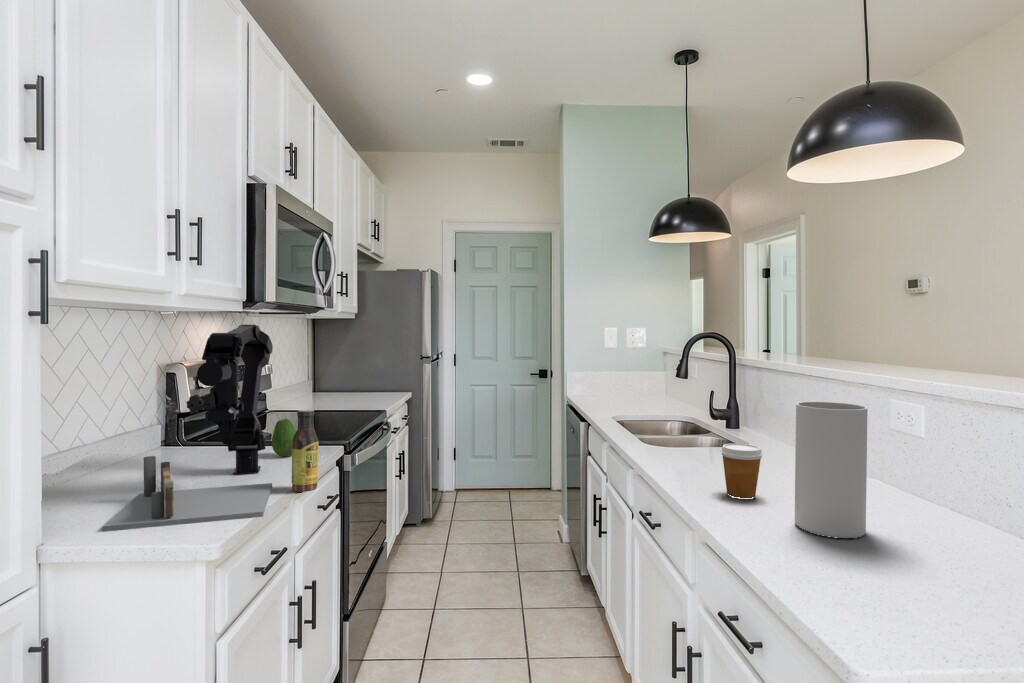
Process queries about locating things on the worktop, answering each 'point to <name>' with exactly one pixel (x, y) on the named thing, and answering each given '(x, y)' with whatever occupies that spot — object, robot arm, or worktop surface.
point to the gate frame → (189, 504)
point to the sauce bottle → (305, 453)
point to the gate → (167, 489)
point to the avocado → (283, 437)
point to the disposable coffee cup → (741, 469)
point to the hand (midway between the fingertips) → (225, 444)
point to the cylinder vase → (831, 468)
